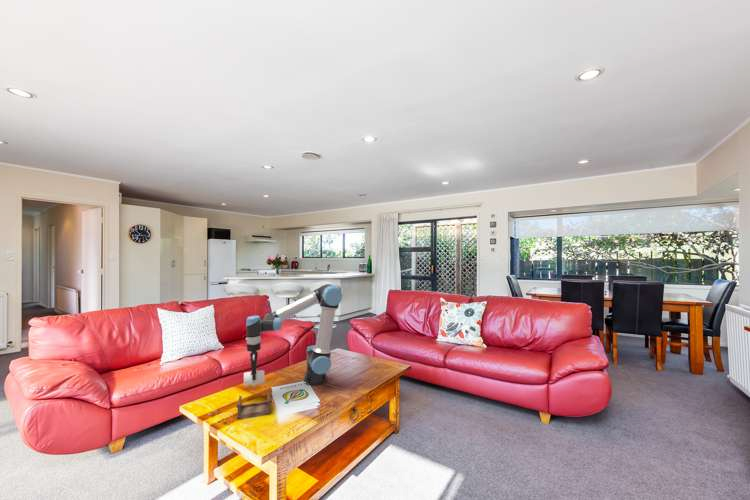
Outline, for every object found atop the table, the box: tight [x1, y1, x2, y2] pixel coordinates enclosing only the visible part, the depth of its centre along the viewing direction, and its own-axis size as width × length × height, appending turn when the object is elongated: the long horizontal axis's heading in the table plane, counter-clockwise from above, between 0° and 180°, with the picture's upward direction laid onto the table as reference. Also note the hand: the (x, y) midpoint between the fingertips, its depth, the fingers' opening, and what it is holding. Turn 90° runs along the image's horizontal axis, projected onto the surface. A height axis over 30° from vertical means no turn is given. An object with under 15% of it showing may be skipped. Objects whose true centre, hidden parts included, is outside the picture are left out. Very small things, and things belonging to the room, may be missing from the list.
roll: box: [243, 369, 266, 387], centre depth 184 cm, size 11×7×7 cm, turn 109°
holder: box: [235, 392, 273, 420], centre depth 169 cm, size 18×11×7 cm, turn 109°
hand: (254, 382), depth 184 cm, fingers closed on roll, 7 cm apart
